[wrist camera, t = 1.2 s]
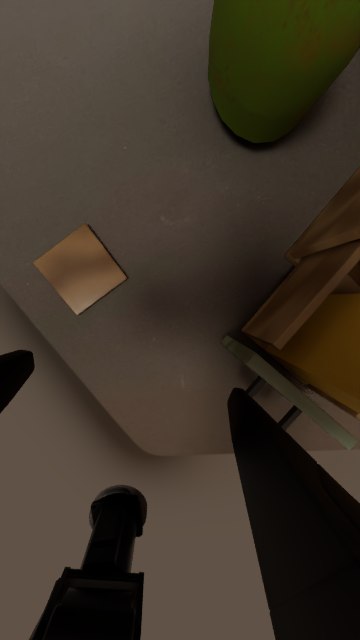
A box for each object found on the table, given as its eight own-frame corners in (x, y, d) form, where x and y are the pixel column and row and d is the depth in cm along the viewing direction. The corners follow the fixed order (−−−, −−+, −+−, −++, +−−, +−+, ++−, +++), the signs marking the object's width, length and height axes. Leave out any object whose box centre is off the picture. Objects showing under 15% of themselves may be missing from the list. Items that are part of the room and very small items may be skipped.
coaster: (127, 278, 20) (127, 278, 19) (78, 315, 20) (76, 315, 19) (87, 224, 19) (85, 223, 18) (35, 263, 19) (32, 262, 19)
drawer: (271, 428, 22) (317, 485, 15) (196, 369, 21) (211, 404, 14) (379, 308, 21) (479, 313, 14) (309, 237, 20) (385, 204, 13)
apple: (180, 107, 18) (198, -174, 7) (243, 13, 18) (364, -443, 7) (260, 180, 19) (375, 33, 9) (321, 95, 19) (526, -176, 8)
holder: (291, 373, 20) (460, 474, 9) (264, 349, 20) (405, 423, 8) (338, 320, 20) (582, 350, 8) (312, 294, 19) (534, 288, 8)
